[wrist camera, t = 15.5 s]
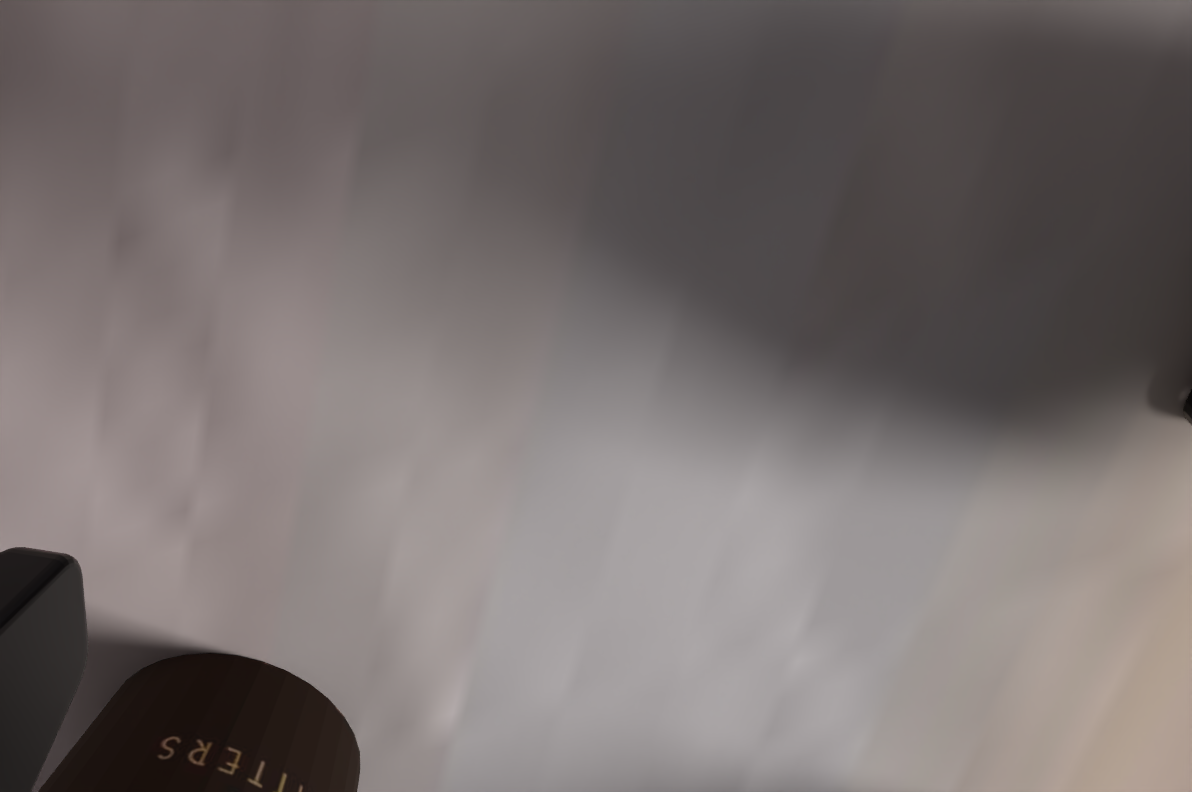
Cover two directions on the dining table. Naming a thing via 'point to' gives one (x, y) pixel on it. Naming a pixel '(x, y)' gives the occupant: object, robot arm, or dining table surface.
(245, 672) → the coffee mug
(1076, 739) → the dining table surface
